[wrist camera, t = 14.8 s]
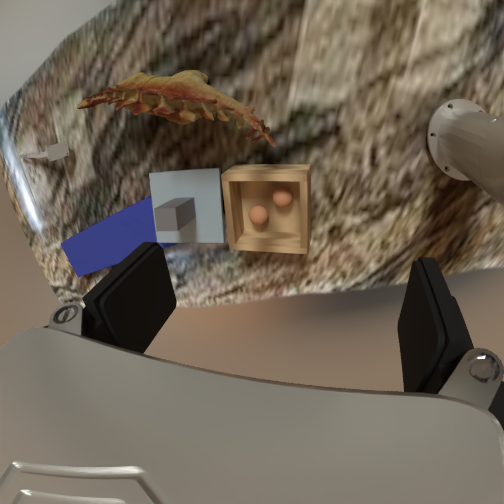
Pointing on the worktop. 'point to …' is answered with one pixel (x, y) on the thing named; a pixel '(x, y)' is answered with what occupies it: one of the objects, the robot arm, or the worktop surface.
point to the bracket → (50, 152)
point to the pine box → (268, 207)
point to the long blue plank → (112, 238)
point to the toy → (178, 100)
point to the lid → (188, 206)
